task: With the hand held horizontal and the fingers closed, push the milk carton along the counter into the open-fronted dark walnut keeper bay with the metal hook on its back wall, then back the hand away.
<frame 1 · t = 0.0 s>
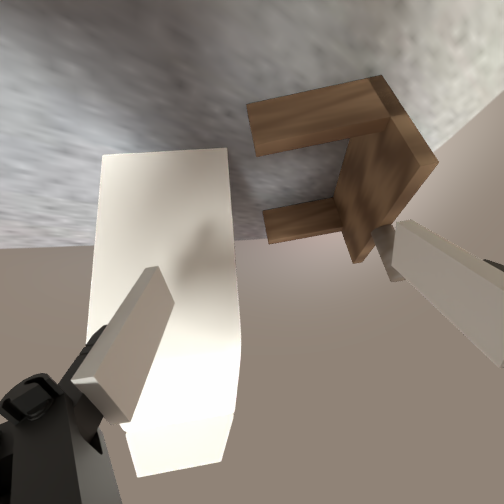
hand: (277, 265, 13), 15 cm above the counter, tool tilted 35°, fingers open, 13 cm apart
milk: (179, 189, 29), on the counter
keeper: (277, 171, 28), on the counter
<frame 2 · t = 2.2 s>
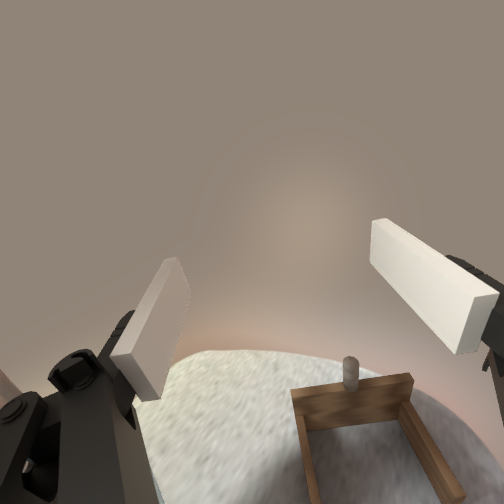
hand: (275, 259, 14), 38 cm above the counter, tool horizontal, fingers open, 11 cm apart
keeper: (374, 491, 32), on the counter
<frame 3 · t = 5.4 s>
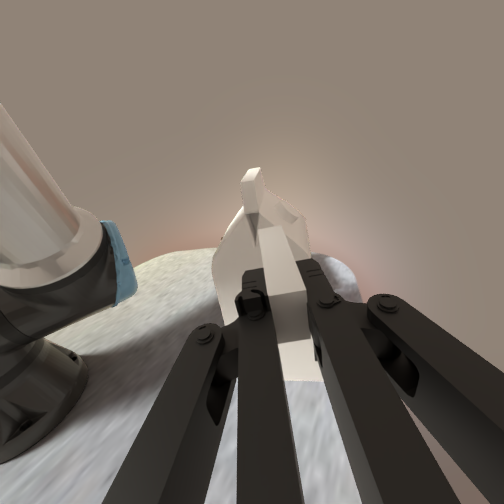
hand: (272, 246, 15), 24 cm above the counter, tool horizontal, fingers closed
milk: (280, 344, 37), on the counter
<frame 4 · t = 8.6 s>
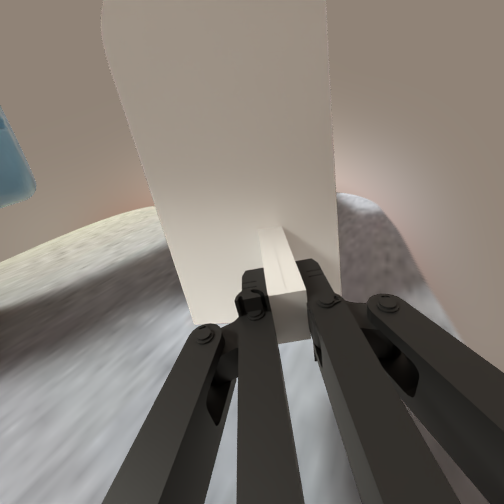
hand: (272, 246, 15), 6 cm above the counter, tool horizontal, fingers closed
milk: (268, 277, 23), on the counter, touching gripper
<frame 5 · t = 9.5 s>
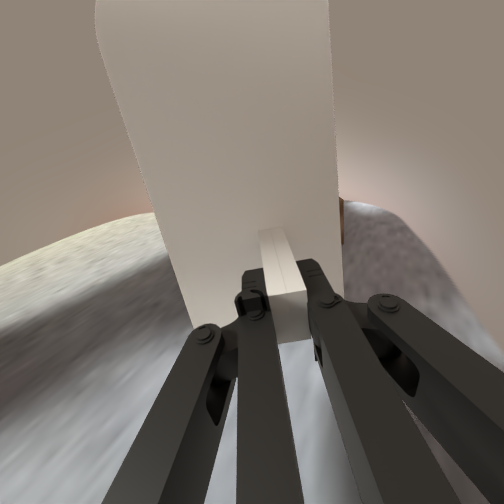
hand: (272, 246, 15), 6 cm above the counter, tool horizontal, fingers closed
milk: (265, 279, 23), on the counter, touching gripper
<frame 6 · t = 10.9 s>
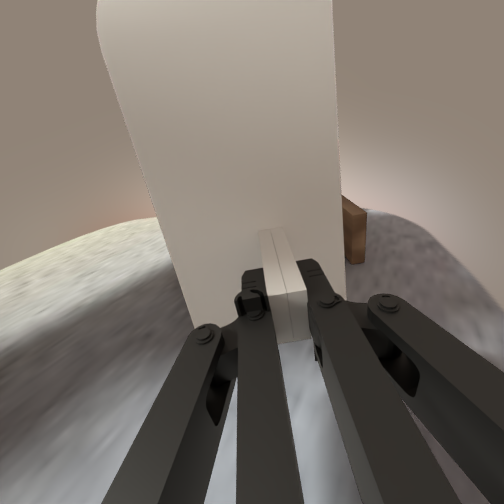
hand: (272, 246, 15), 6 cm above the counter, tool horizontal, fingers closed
milk: (265, 280, 23), on the counter, touching gripper
keeper: (272, 264, 25), on the counter
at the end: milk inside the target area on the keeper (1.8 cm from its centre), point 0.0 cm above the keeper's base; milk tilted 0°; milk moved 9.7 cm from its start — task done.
